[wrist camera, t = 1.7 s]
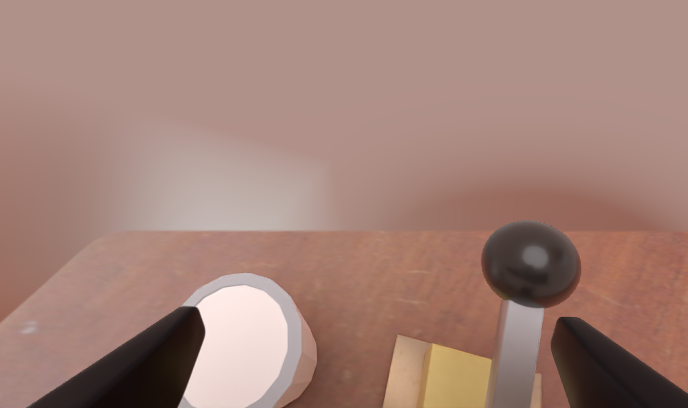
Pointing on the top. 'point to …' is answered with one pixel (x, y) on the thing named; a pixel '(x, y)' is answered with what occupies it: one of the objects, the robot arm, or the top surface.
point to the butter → (453, 379)
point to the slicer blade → (524, 301)
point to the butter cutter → (409, 374)
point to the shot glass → (249, 346)
